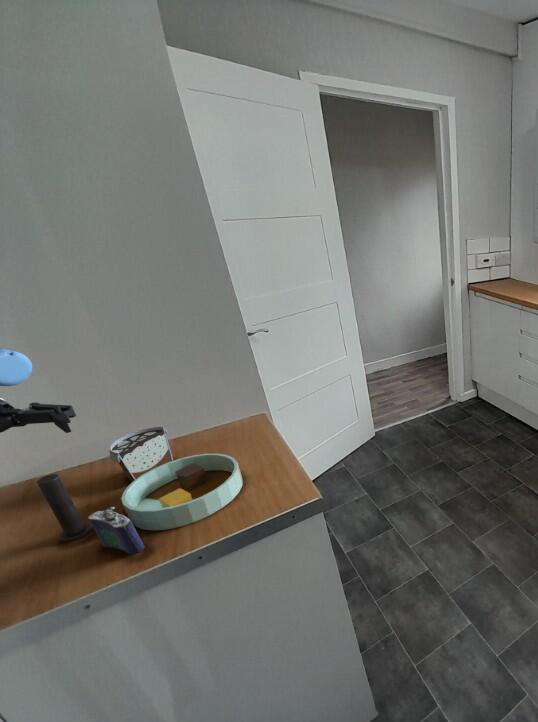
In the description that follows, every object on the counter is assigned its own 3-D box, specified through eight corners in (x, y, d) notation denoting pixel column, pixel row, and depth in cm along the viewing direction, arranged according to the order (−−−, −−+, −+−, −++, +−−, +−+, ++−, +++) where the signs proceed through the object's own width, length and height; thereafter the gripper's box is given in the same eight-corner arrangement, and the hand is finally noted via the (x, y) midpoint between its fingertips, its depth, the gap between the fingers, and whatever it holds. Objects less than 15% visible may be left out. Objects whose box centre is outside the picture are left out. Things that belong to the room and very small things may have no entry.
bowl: (112, 511, 88) (102, 490, 86) (213, 463, 105) (206, 445, 102) (161, 546, 79) (151, 524, 77) (262, 488, 96) (257, 468, 94)
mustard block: (164, 513, 87) (158, 498, 85) (185, 502, 90) (180, 487, 88) (174, 520, 85) (168, 504, 83) (195, 508, 88) (190, 493, 86)
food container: (158, 456, 106) (143, 423, 102) (179, 459, 106) (165, 425, 101) (109, 487, 95) (91, 452, 91) (132, 490, 94) (115, 454, 90)
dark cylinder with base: (61, 544, 79) (25, 481, 73) (90, 529, 83) (59, 468, 77) (71, 552, 78) (35, 489, 72) (100, 537, 81) (69, 475, 75)
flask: (103, 553, 78) (79, 509, 73) (121, 541, 80) (98, 499, 76) (138, 565, 75) (115, 521, 71) (155, 553, 78) (134, 510, 73)
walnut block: (180, 485, 95) (174, 471, 93) (199, 476, 98) (194, 462, 97) (189, 491, 93) (184, 476, 92) (208, 481, 97) (203, 467, 95)
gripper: (72, 406, 98) (109, 430, 88) (-105, 457, 78) (-82, 495, 68) (59, 377, 94) (95, 399, 85) (-130, 423, 75) (-110, 457, 65)
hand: (16, 442), depth 76 cm, fingers open, 13 cm apart
